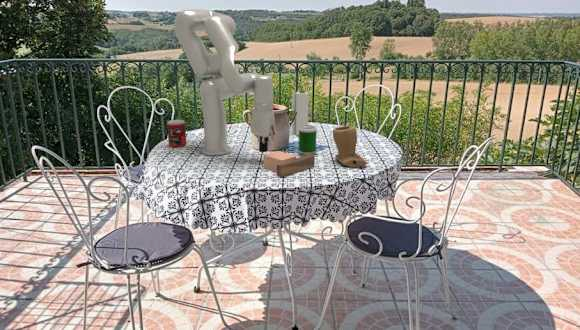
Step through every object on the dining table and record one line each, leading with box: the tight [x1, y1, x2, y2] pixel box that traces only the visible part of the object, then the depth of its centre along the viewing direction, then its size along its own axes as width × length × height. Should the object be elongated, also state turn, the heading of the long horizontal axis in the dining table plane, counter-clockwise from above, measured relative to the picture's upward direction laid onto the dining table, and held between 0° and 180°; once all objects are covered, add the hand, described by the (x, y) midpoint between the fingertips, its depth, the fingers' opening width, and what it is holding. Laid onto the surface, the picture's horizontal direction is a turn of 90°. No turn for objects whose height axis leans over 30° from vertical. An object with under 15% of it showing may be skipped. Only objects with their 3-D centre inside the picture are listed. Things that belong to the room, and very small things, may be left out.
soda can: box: [298, 124, 318, 156], centre depth 190 cm, size 8×8×12 cm
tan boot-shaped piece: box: [332, 125, 368, 168], centre depth 178 cm, size 15×12×15 cm
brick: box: [263, 150, 298, 173], centre depth 173 cm, size 10×8×6 cm
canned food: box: [166, 119, 187, 148], centre depth 202 cm, size 8×8×11 cm
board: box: [276, 154, 316, 178], centre depth 170 cm, size 3×18×4 cm, turn 136°
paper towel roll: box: [291, 91, 310, 137], centre depth 220 cm, size 7×6×21 cm
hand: (263, 151), depth 181 cm, fingers closed
